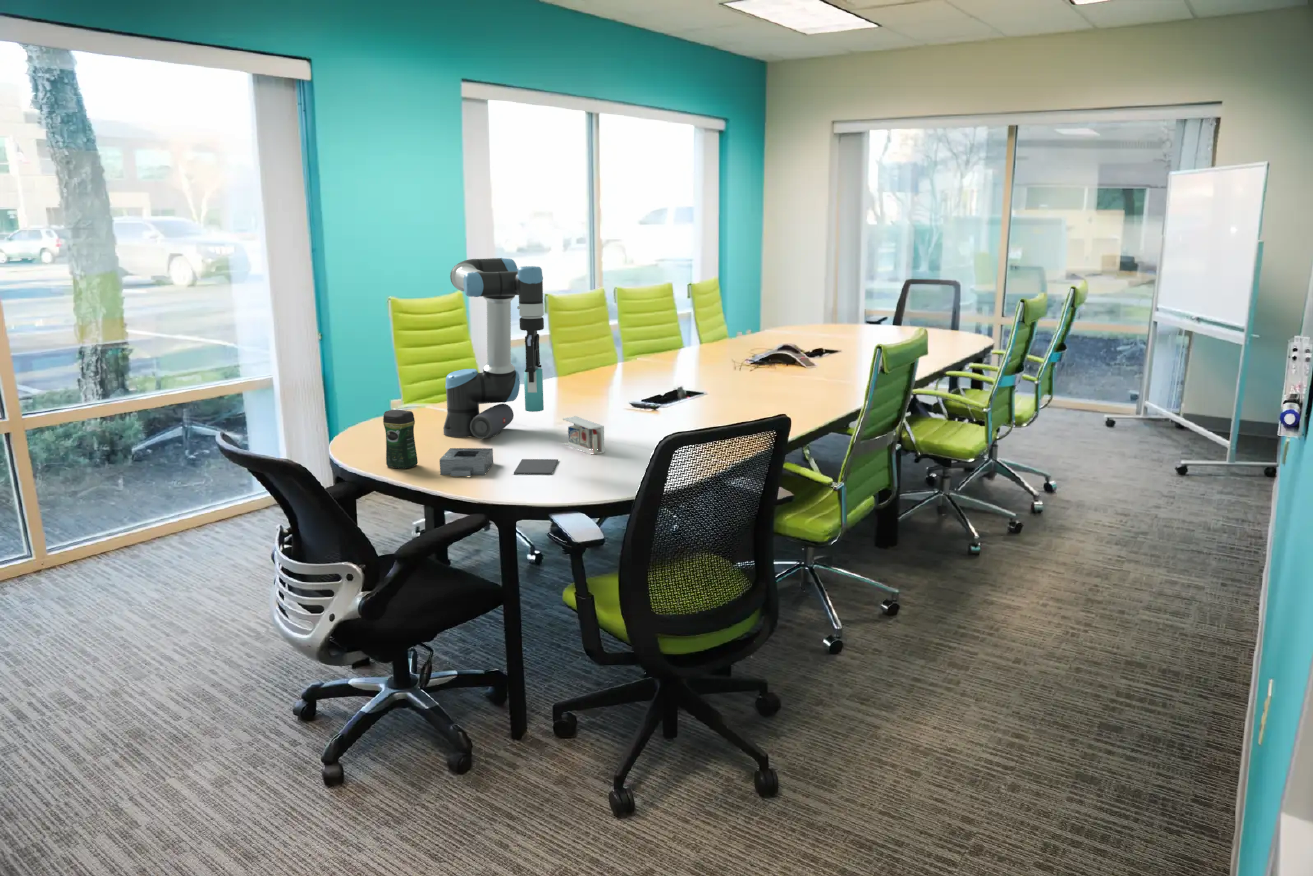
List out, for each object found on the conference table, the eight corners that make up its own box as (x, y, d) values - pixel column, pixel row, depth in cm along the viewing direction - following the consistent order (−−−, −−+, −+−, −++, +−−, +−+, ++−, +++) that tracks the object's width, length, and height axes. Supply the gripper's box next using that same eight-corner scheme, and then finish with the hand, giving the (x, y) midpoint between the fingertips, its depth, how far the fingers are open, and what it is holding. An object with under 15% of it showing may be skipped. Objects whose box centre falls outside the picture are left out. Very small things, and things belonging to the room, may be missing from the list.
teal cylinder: (526, 407, 297) (525, 365, 294) (544, 407, 297) (543, 365, 294) (523, 411, 292) (522, 368, 288) (542, 411, 291) (540, 368, 288)
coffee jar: (422, 464, 302) (418, 409, 298) (406, 470, 295) (402, 413, 291) (398, 461, 306) (394, 406, 302) (382, 467, 299) (378, 411, 295)
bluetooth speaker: (492, 443, 330) (492, 415, 328) (468, 440, 332) (468, 413, 330) (515, 428, 352) (515, 403, 349) (492, 426, 354) (492, 401, 351)
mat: (522, 460, 307) (522, 459, 307) (558, 461, 307) (558, 459, 306) (513, 474, 291) (513, 472, 291) (551, 474, 291) (551, 472, 291)
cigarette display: (563, 443, 329) (562, 418, 327) (576, 441, 333) (576, 416, 330) (592, 455, 314) (592, 428, 311) (606, 453, 317) (606, 426, 314)
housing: (452, 460, 307) (451, 446, 306) (494, 461, 306) (494, 446, 305) (438, 476, 288) (437, 461, 287) (483, 477, 288) (482, 461, 287)
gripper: (524, 313, 296) (526, 384, 302) (514, 320, 278) (517, 396, 284) (547, 313, 296) (549, 384, 302) (539, 320, 278) (541, 396, 284)
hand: (533, 390), depth 293 cm, fingers closed on teal cylinder, 6 cm apart
